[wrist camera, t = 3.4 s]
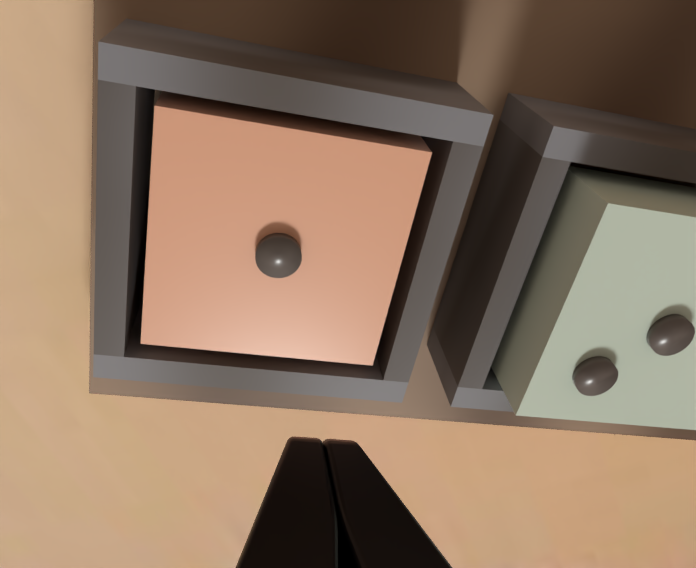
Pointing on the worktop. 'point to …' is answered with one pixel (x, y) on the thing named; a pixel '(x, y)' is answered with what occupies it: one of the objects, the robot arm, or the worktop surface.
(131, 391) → the button panel
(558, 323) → the button sage
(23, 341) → the worktop surface
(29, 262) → the worktop surface
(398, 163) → the button terracotta
